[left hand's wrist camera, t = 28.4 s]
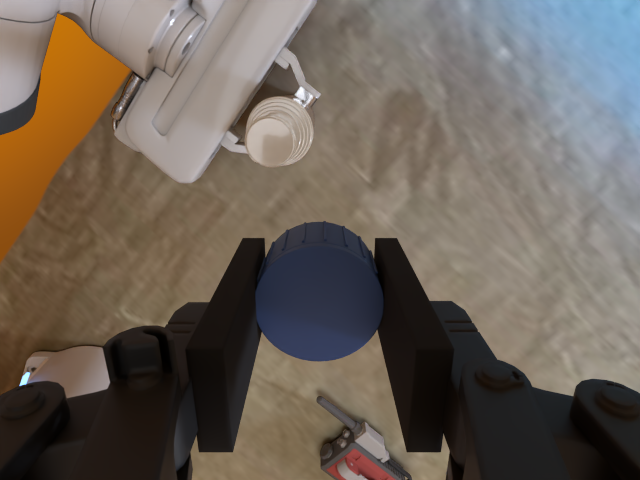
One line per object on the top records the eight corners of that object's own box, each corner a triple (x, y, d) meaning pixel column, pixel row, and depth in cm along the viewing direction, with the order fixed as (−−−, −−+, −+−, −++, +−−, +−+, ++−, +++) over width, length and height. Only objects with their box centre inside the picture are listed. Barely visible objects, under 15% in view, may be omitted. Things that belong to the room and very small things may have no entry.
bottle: (291, 84, 41) (267, 78, 22) (324, 118, 43) (329, 142, 23) (259, 118, 43) (210, 142, 23) (292, 151, 44) (272, 200, 24)
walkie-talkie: (421, 464, 59) (323, 385, 54) (429, 492, 55) (323, 410, 50) (377, 495, 61) (278, 423, 56) (381, 525, 57) (275, 449, 52)
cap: (308, 342, 16) (306, 384, 13) (238, 263, 14) (223, 295, 12) (397, 284, 15) (411, 318, 12) (330, 196, 14) (332, 217, 11)
